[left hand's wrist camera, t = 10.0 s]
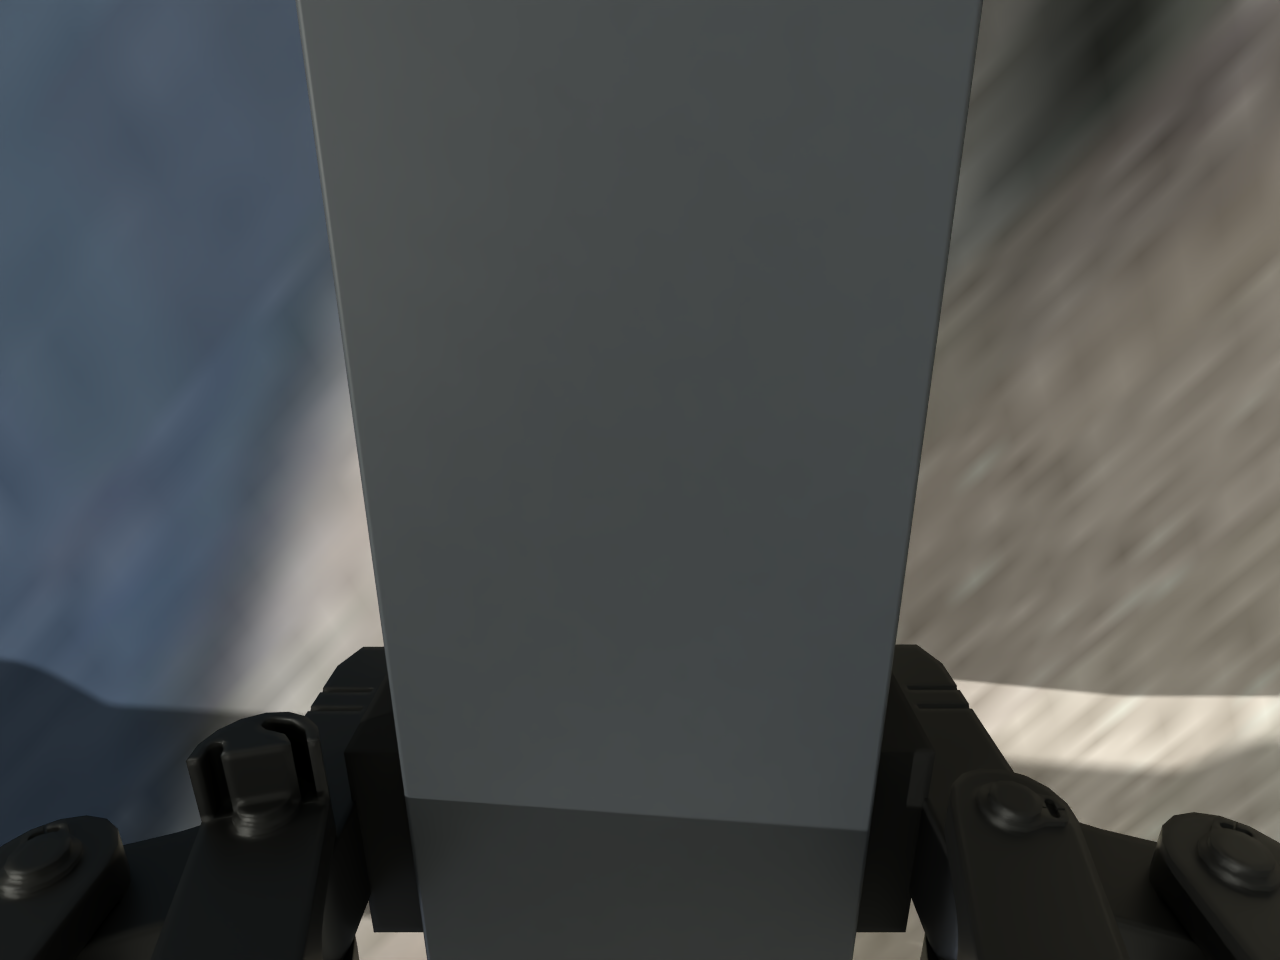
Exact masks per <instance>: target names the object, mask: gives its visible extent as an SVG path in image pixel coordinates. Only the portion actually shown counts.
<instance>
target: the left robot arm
mask: <svg viewBox="0 0 1280 960" xmlns="http://www.w3.org/2000/svg"><path fill="white" fill-rule="evenodd" d="M186 763H187V767H188V771H189V774H190V778H191V782H192V786H193V790H194V794H195V797H196V801H197V805H198V809H199V813H200V817H201V821H202V823H201V825H200V826H197V827H194V828H191V829H188V830H184V831H181V832H177V833H173V834H169V835H165V836H161V837H156V838H152V839H148V840H144V841H140V842H135V843H131V844H127V845H123V844H122V841H121V838H120V834H119V831H118V828H116V827H115V826H114V825H113V824H112V823H111V822H110V821H108V820H107V819H105V818H99V817H93V816H80V817H73V818H66V819H60V820H57V821H54V822H51V823H48V824H46V825H43V826H40V827H37V828H34V829H32V830H30V831H28V832H26V833H24V834H22V835H21V836H19V837H17V838H15V839H13V840H12V841H10V842H8V843H6V844H4V845H3V846H1V847H0V960H359V955H358V948H357V942H356V937H355V934H356V931H357V928H358V926H359V923H360V921H361V918H362V916H363V913H364V911H365V908H366V905H367V903H368V900H369V906H370V912H371V917H372V923H373V929H374V932H423V925H422V918H421V910H420V903H419V896H418V888H417V881H416V874H415V867H414V859H413V852H412V845H411V837H410V830H409V823H408V816H407V808H406V801H405V794H404V786H403V779H402V772H401V765H400V757H399V750H398V743H397V736H396V728H395V721H394V714H393V706H392V699H391V692H390V685H389V677H388V670H387V663H386V655H385V648H384V647H362V648H361V649H360V650H358V651H357V652H356V653H354V654H353V655H352V656H350V657H349V658H348V659H346V660H345V661H344V662H342V663H341V664H340V665H338V666H337V668H336V669H335V671H334V672H333V674H332V675H331V677H330V678H329V680H328V681H327V683H326V684H325V686H324V687H323V692H320V694H319V695H318V697H317V698H316V700H315V701H314V703H313V704H312V706H311V711H308V712H307V713H306V715H305V716H303V715H299V714H295V713H291V712H274V713H263V714H260V715H256V716H252V717H248V718H244V719H241V720H238V721H236V722H234V723H232V724H230V725H228V726H225V727H223V728H221V729H219V730H217V731H216V732H214V733H213V734H212V735H210V736H209V737H208V738H206V739H205V740H204V741H203V742H201V743H200V744H199V745H198V746H197V747H196V748H195V750H194V751H193V752H192V754H191V755H190V757H189V758H188V759H187V761H186ZM911 898H912V901H913V903H914V906H915V908H916V911H917V913H918V916H919V919H920V921H921V924H922V926H923V929H924V931H925V937H924V942H923V948H922V953H921V959H920V960H1280V843H1278V842H1277V841H1275V840H1273V839H1271V838H1269V837H1268V836H1266V835H1264V834H1262V833H1260V832H1259V831H1257V830H1255V829H1253V828H1251V827H1250V826H1247V825H1244V824H1241V823H1238V822H1235V821H1233V820H1230V819H1227V818H1224V817H1221V816H1216V815H1209V814H1202V813H1195V812H1193V813H1186V814H1180V815H1174V816H1173V817H1172V818H1170V819H1169V820H1168V821H1167V822H1166V823H1165V824H1164V825H1163V826H1162V829H1161V832H1160V835H1159V839H1158V842H1154V841H1149V840H1145V839H1141V838H1137V837H1132V836H1128V835H1124V834H1120V833H1115V832H1111V831H1107V830H1103V829H1099V828H1096V827H1092V826H1089V825H1086V824H1083V823H1080V822H1079V821H1078V820H1077V818H1076V817H1075V815H1074V813H1073V812H1072V810H1071V809H1070V807H1069V806H1068V804H1067V803H1066V802H1065V801H1064V800H1062V799H1061V798H1060V797H1059V796H1058V795H1057V794H1055V793H1054V792H1053V791H1052V790H1051V789H1049V788H1048V787H1046V786H1044V785H1042V784H1040V783H1039V782H1037V781H1035V780H1033V779H1031V778H1029V777H1027V776H1024V775H1021V774H1017V773H1014V772H1013V770H1012V769H1011V767H1010V766H1009V764H1008V763H1007V761H1006V759H1005V758H1004V756H1003V755H1002V753H1001V752H1000V750H999V749H998V747H997V746H996V744H995V743H994V741H993V740H992V738H991V737H990V735H989V734H988V732H987V731H986V729H985V728H984V726H983V725H982V723H981V722H980V720H979V719H978V717H977V716H976V714H975V713H974V711H973V710H972V709H969V703H968V702H967V700H966V699H965V697H964V696H963V694H962V693H961V691H960V690H957V685H956V684H955V682H954V681H953V679H952V678H951V676H950V675H949V673H948V672H947V670H946V669H945V667H944V666H943V664H942V663H941V662H939V661H938V660H937V659H935V658H934V657H933V656H931V655H930V654H929V653H927V652H926V651H924V650H923V649H922V648H920V647H919V646H918V645H895V650H894V658H893V665H892V672H891V680H890V687H889V694H888V702H887V709H886V716H885V724H884V731H883V738H882V746H881V753H880V760H879V768H878V775H877V783H876V790H875V797H874V805H873V812H872V819H871V827H870V834H869V841H868V849H867V856H866V863H865V871H864V878H863V885H862V893H861V900H860V907H859V915H858V922H857V929H856V932H906V926H907V920H908V914H909V908H910V902H911Z"/></svg>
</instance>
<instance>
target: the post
mask: <svg viewBox="0 0 1280 960" xmlns="http://www.w3.org/2000/svg"><path fill="white" fill-rule="evenodd" d="M982 4H983V0H296V8H297V15H298V22H299V29H300V37H301V44H302V51H303V59H304V66H305V73H306V80H307V88H308V95H309V102H310V110H311V117H312V124H313V131H314V139H315V146H316V153H317V161H318V168H319V175H320V182H321V190H322V197H323V204H324V211H325V219H326V226H327V233H328V241H329V248H330V255H331V262H332V270H333V277H334V284H335V292H336V299H337V306H338V313H339V321H340V328H341V335H342V342H343V350H344V357H345V364H346V372H347V379H348V386H349V393H350V401H351V408H352V415H353V423H354V430H355V437H356V444H357V452H358V459H359V466H360V474H361V481H362V488H363V495H364V503H365V510H366V517H367V524H368V532H369V539H370V546H371V554H372V561H373V568H374V575H375V583H376V590H377V597H378V605H379V612H380V619H381V626H382V634H383V641H384V648H385V655H386V663H387V670H388V677H389V685H390V692H391V699H392V706H393V714H394V721H395V728H396V736H397V743H398V750H399V757H400V765H401V772H402V779H403V786H404V794H405V801H406V808H407V816H408V823H409V830H410V837H411V845H412V852H413V859H414V867H415V874H416V881H417V888H418V896H419V903H420V910H421V918H422V925H423V932H424V939H425V947H426V954H427V960H852V959H853V951H854V944H855V937H856V929H857V922H858V915H859V907H860V900H861V893H862V885H863V878H864V871H865V863H866V856H867V849H868V841H869V834H870V827H871V819H872V812H873V805H874V797H875V790H876V783H877V775H878V768H879V760H880V753H881V746H882V738H883V731H884V724H885V716H886V709H887V702H888V694H889V687H890V680H891V672H892V665H893V658H894V650H895V643H896V636H897V628H898V621H899V614H900V606H901V599H902V592H903V584H904V577H905V570H906V562H907V555H908V548H909V540H910V533H911V526H912V518H913V511H914V504H915V496H916V489H917V481H918V474H919V467H920V459H921V452H922V445H923V437H924V430H925V423H926V415H927V408H928V401H929V393H930V386H931V379H932V371H933V364H934V357H935V349H936V342H937V335H938V327H939V320H940V313H941V305H942V298H943V291H944V283H945V276H946V269H947V261H948V254H949V247H950V239H951V232H952V224H953V217H954V210H955V202H956V195H957V188H958V180H959V173H960V166H961V158H962V151H963V144H964V136H965V129H966V122H967V114H968V107H969V100H970V92H971V85H972V78H973V70H974V63H975V56H976V48H977V41H978V34H979V26H980V19H981V12H982Z"/></svg>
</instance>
